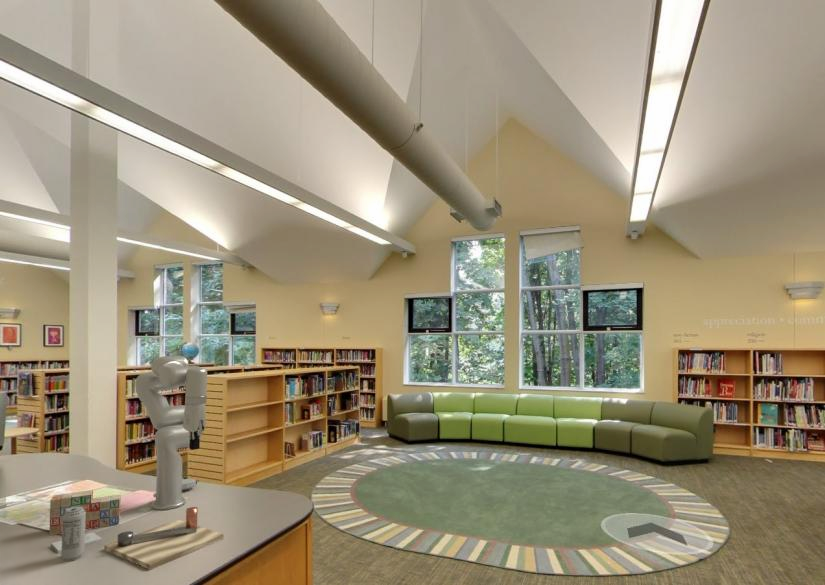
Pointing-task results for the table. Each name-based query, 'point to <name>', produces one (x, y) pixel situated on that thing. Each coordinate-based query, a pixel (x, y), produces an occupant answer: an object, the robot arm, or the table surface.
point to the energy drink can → (73, 533)
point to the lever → (191, 526)
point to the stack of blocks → (96, 509)
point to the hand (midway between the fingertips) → (194, 448)
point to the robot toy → (188, 483)
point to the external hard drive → (89, 539)
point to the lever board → (165, 545)
